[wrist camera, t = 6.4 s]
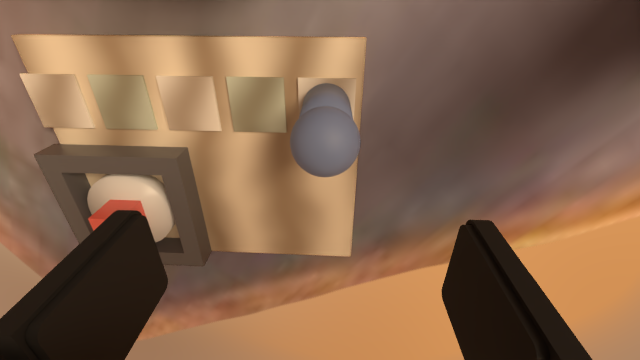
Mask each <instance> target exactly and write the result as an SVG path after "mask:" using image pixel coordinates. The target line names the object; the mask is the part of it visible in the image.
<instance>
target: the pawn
mask: <svg viewBox="0 0 640 360" xmlns="http://www.w3.org/2000/svg"><path fill="white" fill-rule="evenodd" d="M360 143H361V141H360V133H359V130H358V127H357V125H356V123H355V122H354V120H353V116H352V110H351V105H350V100H349V97H348V95H347V94H346V92H345V91H344V90H343V89H342V88H340V87H339V86H337V85H335V84H330V83H323V84H319V85H316V86H314V87H313V88H312V89H310V90H309V91H308V93H307V94H306V96H305V98H304V101H303V105H302V108H301V112H300V116H299V119H298V120H297V121H296V123H295V124H294V126H293V129H292V131H291V135H290V148H291V152H292V155H293V157H294V159H295V161H296V162H297V164H298V165H299V166H300V167H301V168H302V169H303V170H304V171H306V172H307V173H309V174H311V175H314V176H317V177H333V176H336V175H339V174H341V173H343V172H344V171H346V170H347V169H348V168H350V167H351V165H352V164H353V163H354V161H355V160H356V158H357V156H358V153H359V150H360Z"/></svg>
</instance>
